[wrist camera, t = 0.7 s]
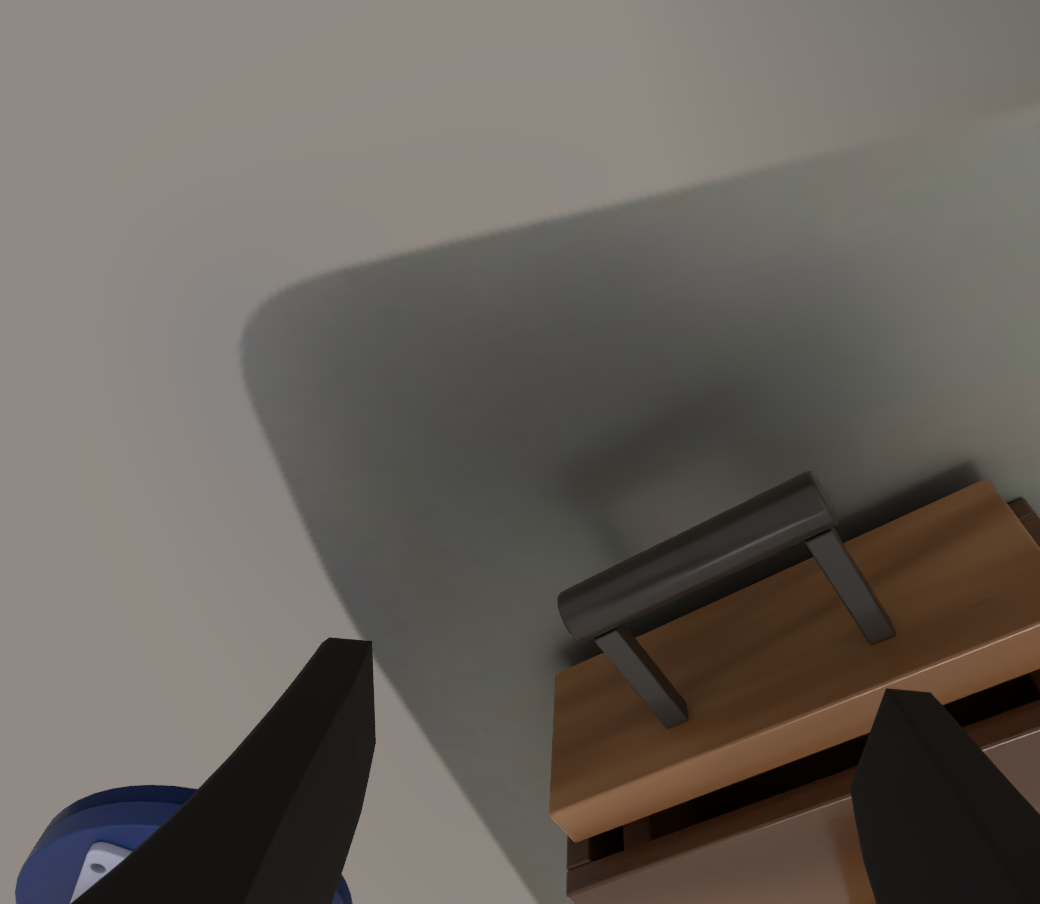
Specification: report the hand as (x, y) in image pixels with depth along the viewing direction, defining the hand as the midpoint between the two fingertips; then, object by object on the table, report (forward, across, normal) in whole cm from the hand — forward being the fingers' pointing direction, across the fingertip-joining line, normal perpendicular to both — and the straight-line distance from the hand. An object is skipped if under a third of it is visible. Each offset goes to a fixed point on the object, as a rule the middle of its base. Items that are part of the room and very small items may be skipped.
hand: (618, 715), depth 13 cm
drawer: (+9, -6, +7) cm, 13 cm away
